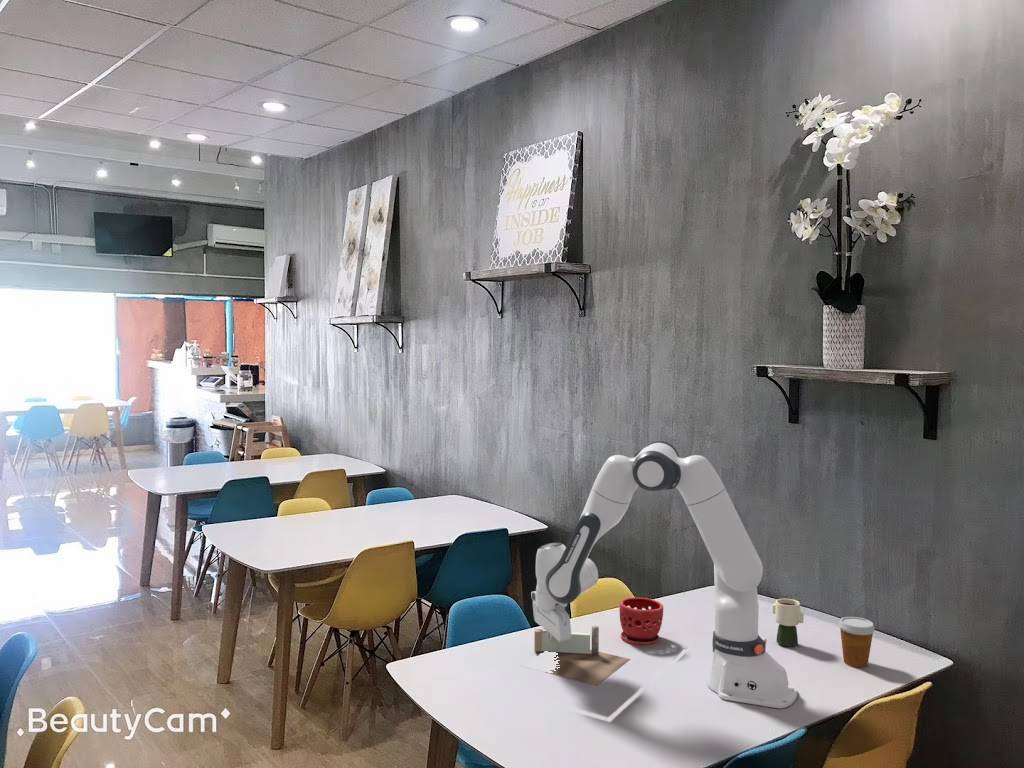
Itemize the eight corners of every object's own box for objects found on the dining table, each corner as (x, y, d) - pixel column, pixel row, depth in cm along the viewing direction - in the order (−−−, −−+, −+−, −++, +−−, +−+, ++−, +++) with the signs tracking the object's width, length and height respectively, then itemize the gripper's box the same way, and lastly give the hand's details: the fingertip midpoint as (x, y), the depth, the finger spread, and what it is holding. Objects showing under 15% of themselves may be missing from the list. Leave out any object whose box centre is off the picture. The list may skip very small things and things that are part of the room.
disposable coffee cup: (835, 666, 226) (836, 624, 226) (839, 654, 235) (840, 614, 234) (872, 672, 222) (873, 630, 221) (875, 660, 230) (876, 619, 230)
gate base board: (630, 662, 229) (630, 631, 228) (597, 689, 211) (597, 655, 210) (557, 645, 242) (557, 615, 241) (519, 669, 224) (520, 637, 223)
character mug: (810, 647, 240) (811, 604, 239) (794, 652, 236) (795, 609, 235) (779, 636, 249) (780, 595, 248) (764, 641, 245) (765, 599, 244)
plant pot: (650, 653, 235) (650, 613, 235) (611, 643, 243) (611, 604, 243) (670, 640, 246) (670, 601, 245) (632, 630, 254) (632, 593, 253)
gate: (589, 654, 231) (589, 634, 231) (534, 651, 233) (534, 631, 233) (590, 651, 233) (590, 631, 233) (535, 648, 235) (535, 629, 235)
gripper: (576, 608, 222) (577, 657, 222) (548, 588, 241) (549, 634, 241) (555, 611, 219) (556, 661, 220) (528, 591, 239) (529, 636, 239)
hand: (552, 646), depth 231 cm, fingers closed
